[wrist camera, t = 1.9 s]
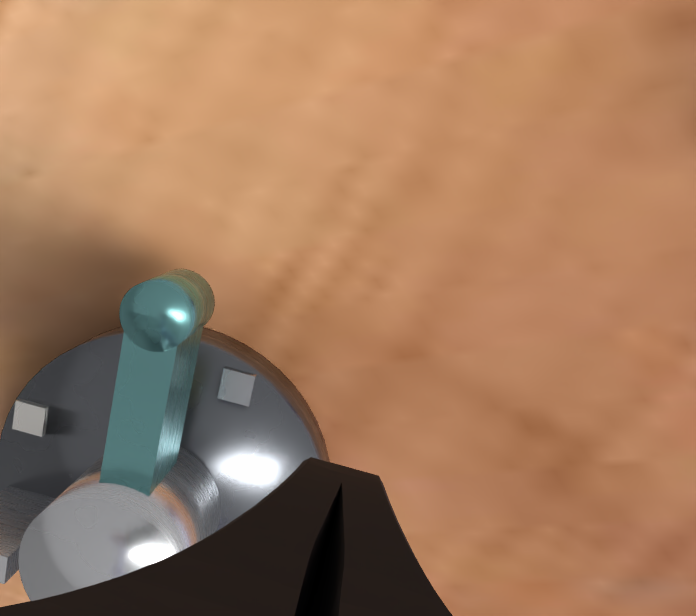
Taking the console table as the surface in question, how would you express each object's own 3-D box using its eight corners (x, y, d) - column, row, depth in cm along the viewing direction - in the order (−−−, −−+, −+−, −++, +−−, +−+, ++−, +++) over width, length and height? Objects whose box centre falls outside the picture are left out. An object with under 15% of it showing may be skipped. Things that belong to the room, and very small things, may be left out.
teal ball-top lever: (206, 578, 20) (163, 664, 16) (79, 541, 20) (10, 619, 17) (271, 284, 18) (237, 313, 14) (126, 246, 18) (56, 264, 14)
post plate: (291, 646, 22) (263, 761, 18) (8, 564, 23) (-87, 657, 18) (365, 371, 20) (353, 428, 15) (44, 284, 20) (-56, 316, 16)
